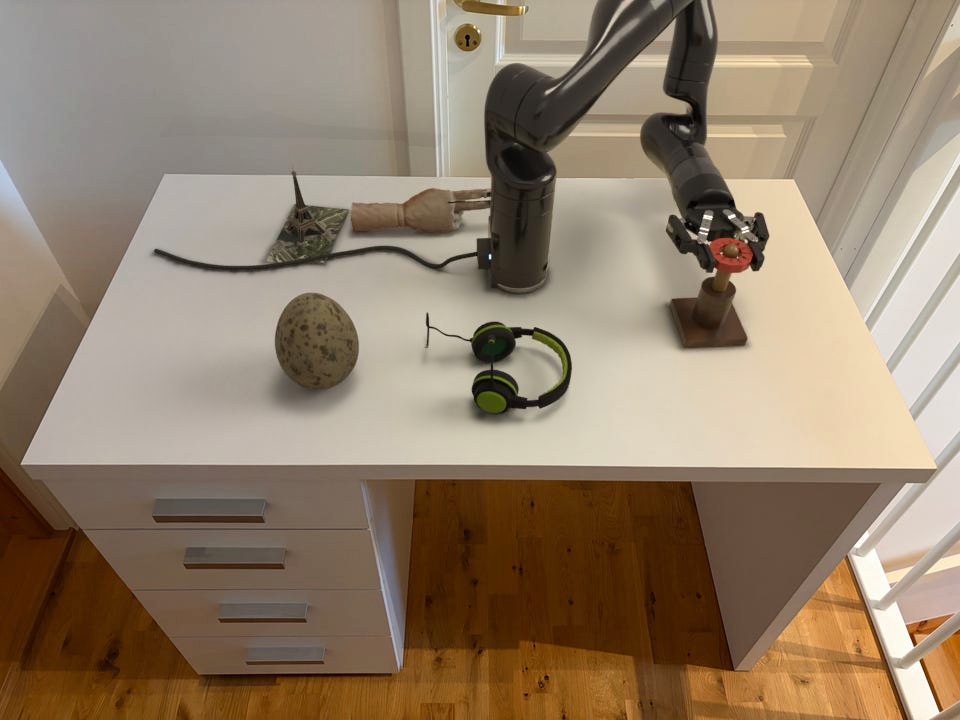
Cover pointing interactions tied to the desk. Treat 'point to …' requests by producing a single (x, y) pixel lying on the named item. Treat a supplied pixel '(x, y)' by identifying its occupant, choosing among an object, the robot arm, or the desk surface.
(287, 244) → the eiffel tower figurine
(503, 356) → the headphones
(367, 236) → the desk surface
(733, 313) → the ring stand
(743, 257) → the ring
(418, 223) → the mannequin hand
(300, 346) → the decorative egg
